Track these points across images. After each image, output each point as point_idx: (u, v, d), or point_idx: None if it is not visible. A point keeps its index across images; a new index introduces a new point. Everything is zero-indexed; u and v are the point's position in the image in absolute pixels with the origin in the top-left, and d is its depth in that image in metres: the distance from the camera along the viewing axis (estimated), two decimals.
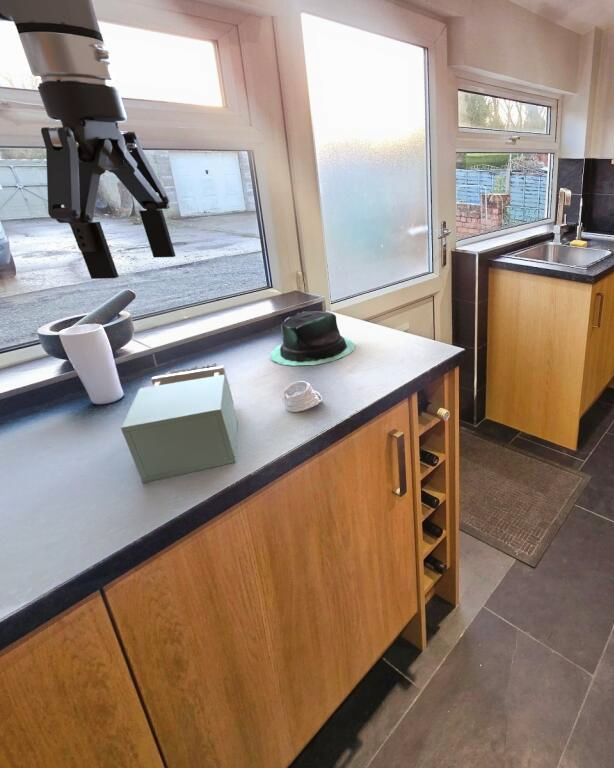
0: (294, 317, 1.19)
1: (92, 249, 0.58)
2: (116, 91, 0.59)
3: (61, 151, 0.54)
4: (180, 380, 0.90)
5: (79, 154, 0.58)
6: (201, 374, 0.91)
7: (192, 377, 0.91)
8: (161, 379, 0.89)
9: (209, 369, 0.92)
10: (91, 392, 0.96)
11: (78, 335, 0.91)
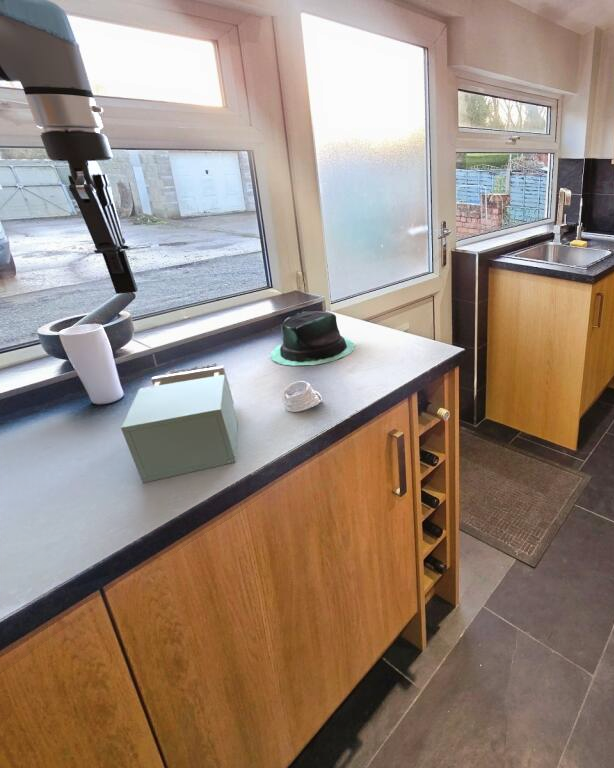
0: (294, 317, 1.19)
1: (122, 271, 0.79)
2: (106, 137, 0.74)
3: (90, 203, 0.71)
4: (180, 380, 0.90)
5: None
6: (201, 374, 0.91)
7: (192, 377, 0.91)
8: (161, 379, 0.89)
9: (209, 369, 0.92)
10: (91, 392, 0.96)
11: (78, 335, 0.91)
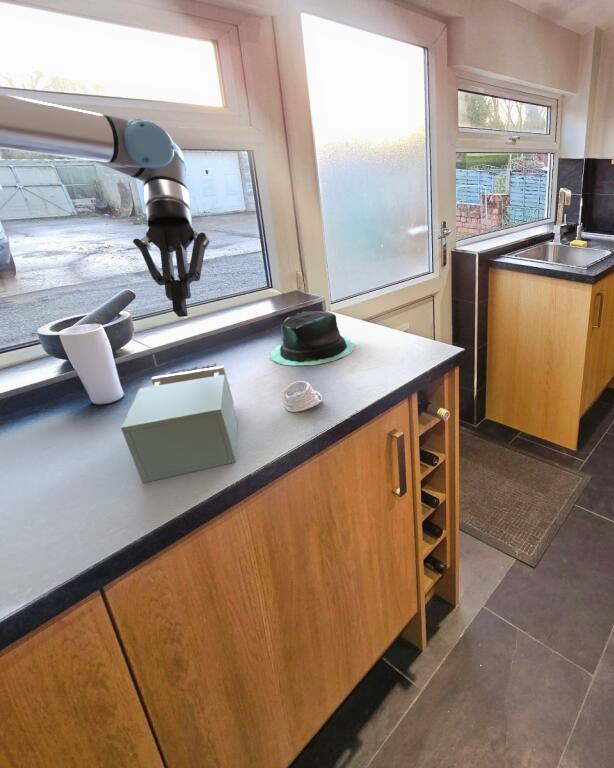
0: (294, 317, 1.19)
1: None
2: None
3: (203, 248, 1.00)
4: (180, 380, 0.90)
5: (188, 238, 0.99)
6: (201, 374, 0.91)
7: (192, 377, 0.91)
8: (161, 379, 0.89)
9: (209, 369, 0.92)
10: (91, 392, 0.96)
11: (78, 335, 0.91)
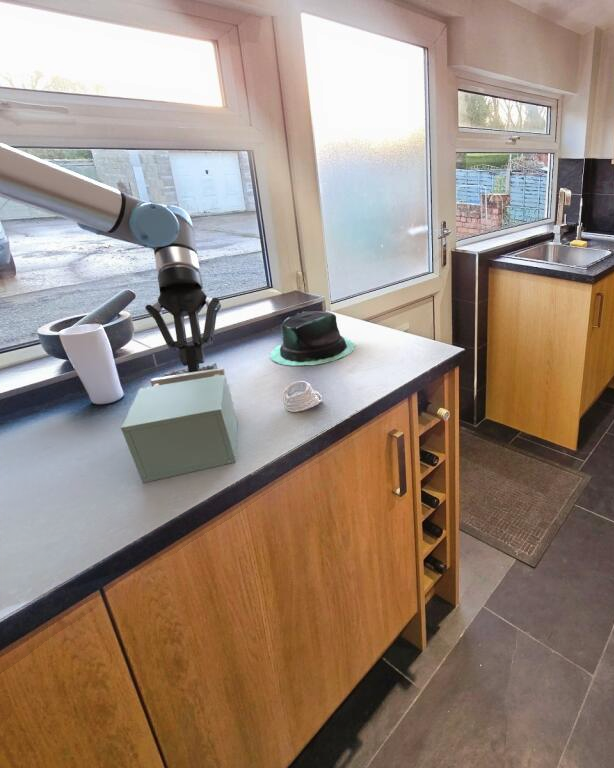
0: (294, 317, 1.19)
1: None
2: None
3: (215, 312, 1.02)
4: None
5: (201, 303, 1.01)
6: (200, 376, 0.90)
7: (192, 379, 0.90)
8: (160, 381, 0.88)
9: (208, 370, 0.91)
10: (91, 392, 0.96)
11: (78, 335, 0.91)
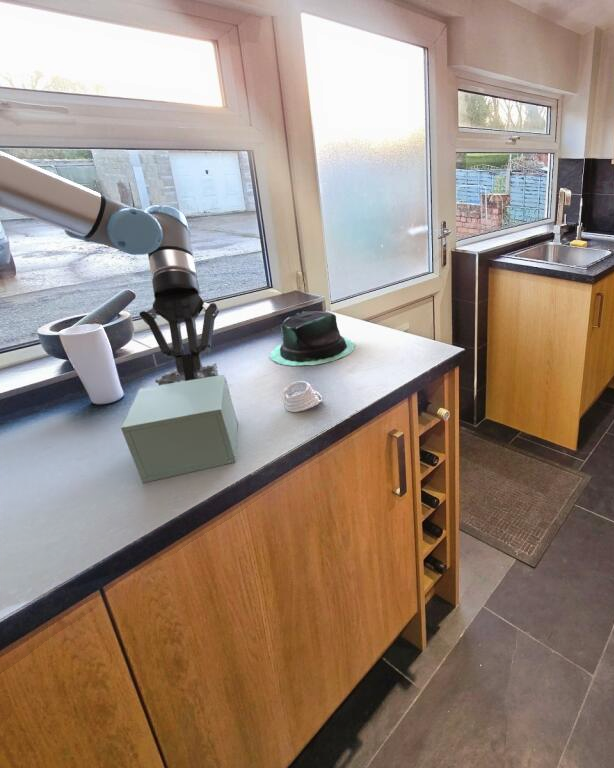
0: (294, 317, 1.19)
1: (201, 370, 0.93)
2: None
3: (213, 318, 0.97)
4: None
5: (198, 309, 0.96)
6: None
7: None
8: None
9: None
10: (91, 392, 0.96)
11: (78, 335, 0.91)
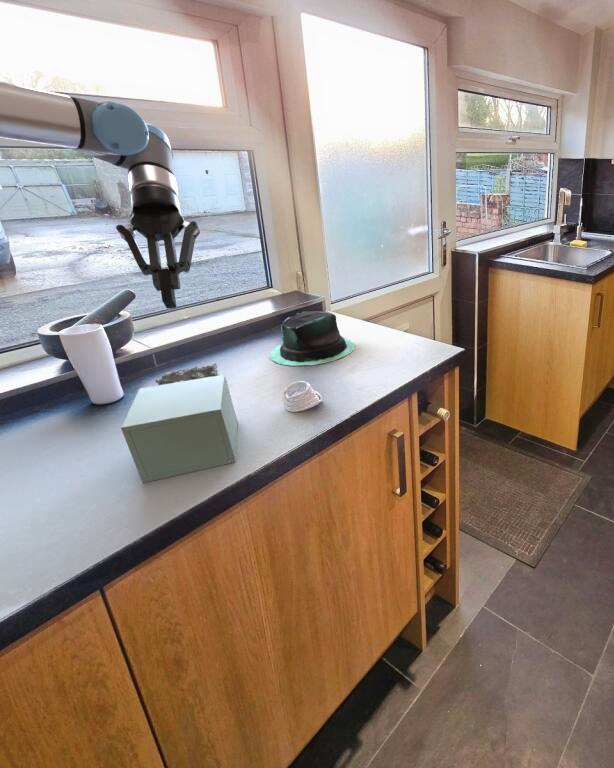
0: (294, 317, 1.19)
1: (179, 287, 0.90)
2: None
3: (193, 237, 0.94)
4: None
5: (178, 227, 0.93)
6: None
7: None
8: None
9: None
10: (91, 392, 0.96)
11: (78, 335, 0.91)
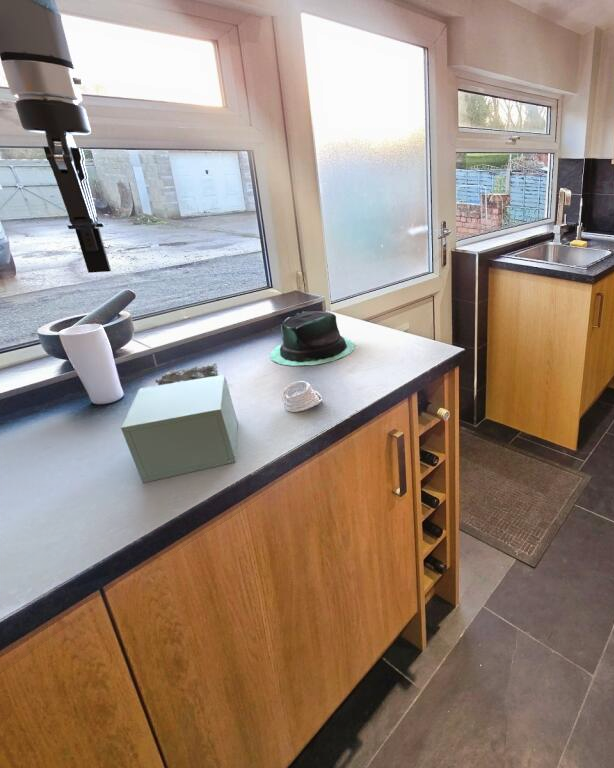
0: (294, 317, 1.19)
1: (96, 248, 0.76)
2: (85, 110, 0.72)
3: (68, 174, 0.69)
4: None
5: None
6: None
7: None
8: None
9: None
10: (91, 392, 0.96)
11: (78, 335, 0.91)
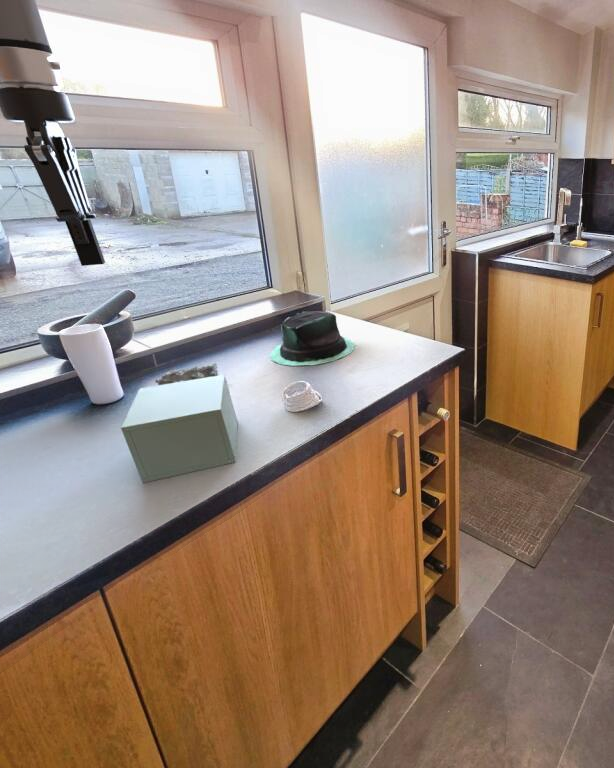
0: (294, 317, 1.19)
1: (87, 241, 0.75)
2: None
3: (49, 165, 0.67)
4: None
5: None
6: None
7: None
8: None
9: None
10: (91, 392, 0.96)
11: (78, 335, 0.91)
